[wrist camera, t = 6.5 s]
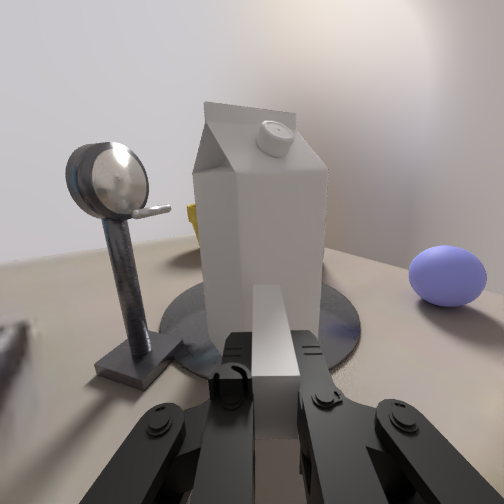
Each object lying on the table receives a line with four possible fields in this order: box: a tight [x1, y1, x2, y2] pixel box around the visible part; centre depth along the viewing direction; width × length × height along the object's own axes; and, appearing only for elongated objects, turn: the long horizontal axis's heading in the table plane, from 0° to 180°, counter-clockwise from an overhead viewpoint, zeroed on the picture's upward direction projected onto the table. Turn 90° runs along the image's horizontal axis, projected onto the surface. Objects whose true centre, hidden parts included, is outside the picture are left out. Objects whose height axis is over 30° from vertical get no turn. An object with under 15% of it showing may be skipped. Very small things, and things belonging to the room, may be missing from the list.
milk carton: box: [192, 102, 329, 357], centre depth 19 cm, size 7×7×19 cm
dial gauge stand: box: [66, 142, 184, 391], centre depth 18 cm, size 5×6×18 cm
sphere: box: [409, 246, 487, 307], centre depth 28 cm, size 7×7×7 cm
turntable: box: [160, 282, 360, 379], centre depth 29 cm, size 22×22×1 cm
